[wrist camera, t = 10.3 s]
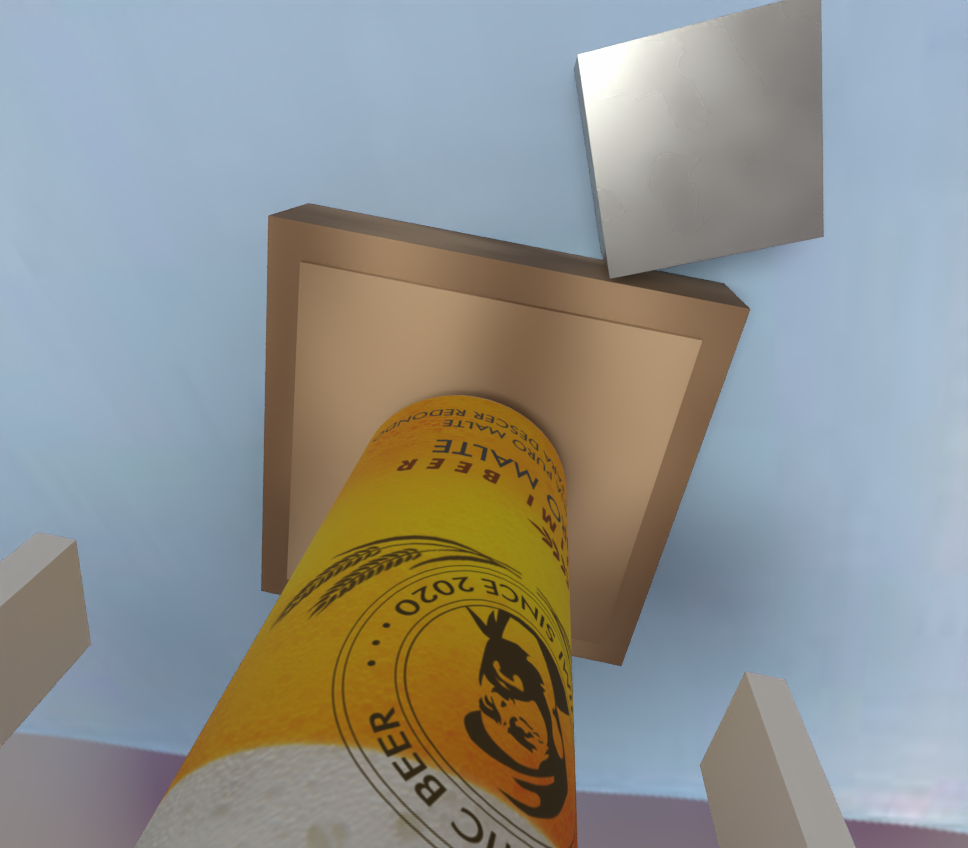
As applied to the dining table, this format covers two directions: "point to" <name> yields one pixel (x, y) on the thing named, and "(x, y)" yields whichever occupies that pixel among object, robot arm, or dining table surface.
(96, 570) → the dining table surface
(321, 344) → the plinth
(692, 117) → the steel block
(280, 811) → the beer can
